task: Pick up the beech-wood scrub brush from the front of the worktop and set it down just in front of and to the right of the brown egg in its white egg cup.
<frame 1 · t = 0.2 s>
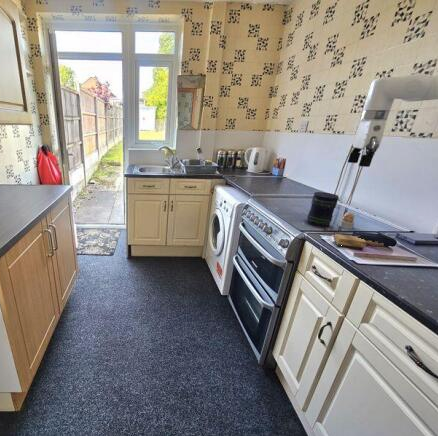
hand: (357, 164, 95), 32 cm above the countertop, tool pointing down, fingers open, 9 cm apart
storage jar: (317, 224, 121), on the countertop
brush: (347, 246, 99), on the countertop
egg: (345, 226, 119), on the countertop
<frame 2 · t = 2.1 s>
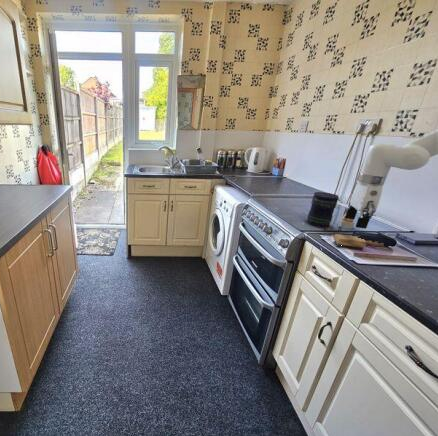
hand: (354, 223, 95), 10 cm above the countertop, tool pointing down, fingers open, 9 cm apart
nothing on the countertop moved.
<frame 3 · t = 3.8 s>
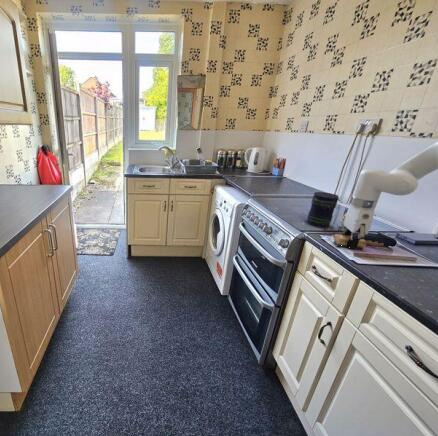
hand: (347, 245, 99), 1 cm above the countertop, tool pointing down, fingers closed on brush, 4 cm apart
brush: (347, 246, 99), on the countertop, touching gripper
everything else where it was.
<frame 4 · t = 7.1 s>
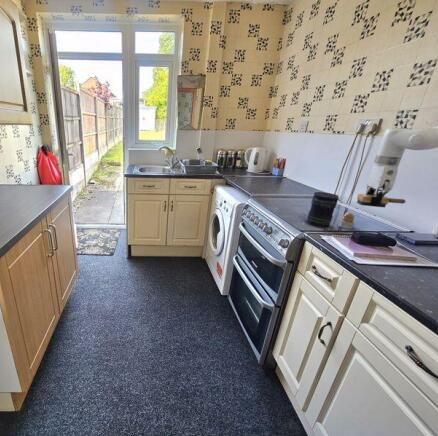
hand: (371, 203, 105), 15 cm above the countertop, tool pointing down, fingers closed on brush, 4 cm apart
brush: (370, 204, 105), point 14 cm above the countertop, touching gripper
everything else where it was.
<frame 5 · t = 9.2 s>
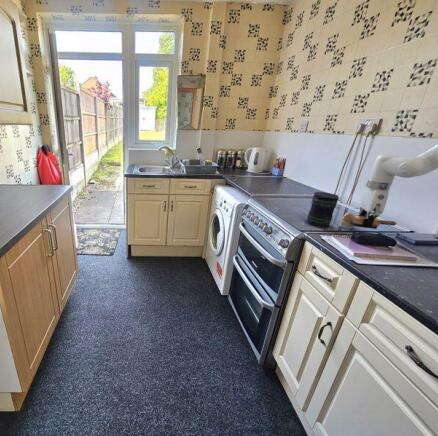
hand: (363, 224, 109), 4 cm above the countertop, tool pointing down, fingers closed on brush, 4 cm apart
brush: (362, 226, 110), point 4 cm above the countertop, touching gripper
everything else where it was.
when the fingers open (1 cm above the countertop, at t = 10.6 s): brush stays where it is, on the countertop.
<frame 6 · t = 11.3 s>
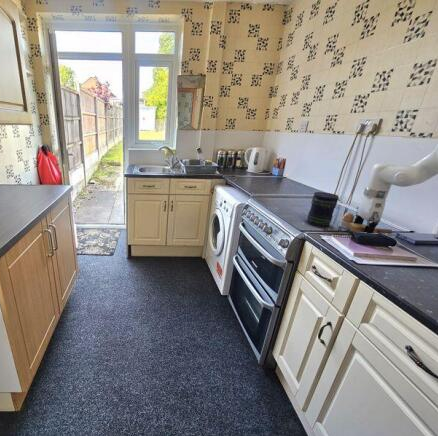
hand: (361, 230, 110), 2 cm above the countertop, tool pointing down, fingers open, 9 cm apart
brush: (359, 233, 111), on the countertop
everything else where it was.
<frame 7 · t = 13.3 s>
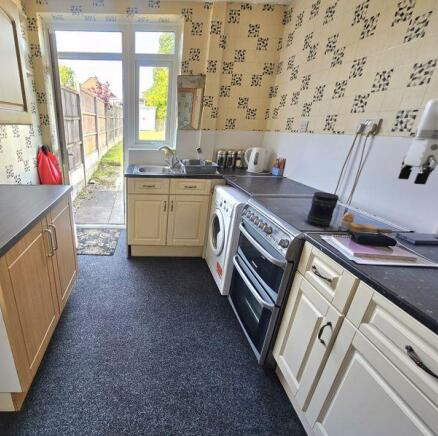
hand: (410, 181, 96), 26 cm above the countertop, tool pointing down, fingers open, 9 cm apart
nothing on the countertop moved.
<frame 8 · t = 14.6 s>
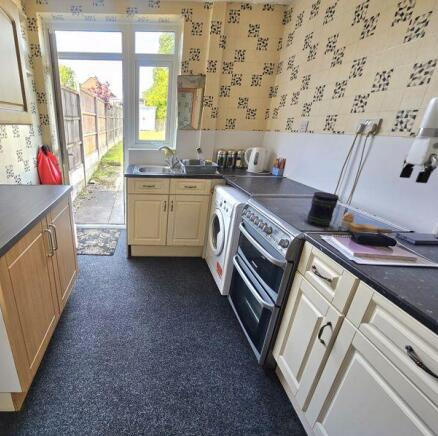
hand: (412, 180, 96), 26 cm above the countertop, tool pointing down, fingers open, 9 cm apart
nothing on the countertop moved.
at the end: brush inside the target area on the countertop beside the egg (0.5 cm from its centre), on the countertop; brush tilted 0°; the gripper is holding nothing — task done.
